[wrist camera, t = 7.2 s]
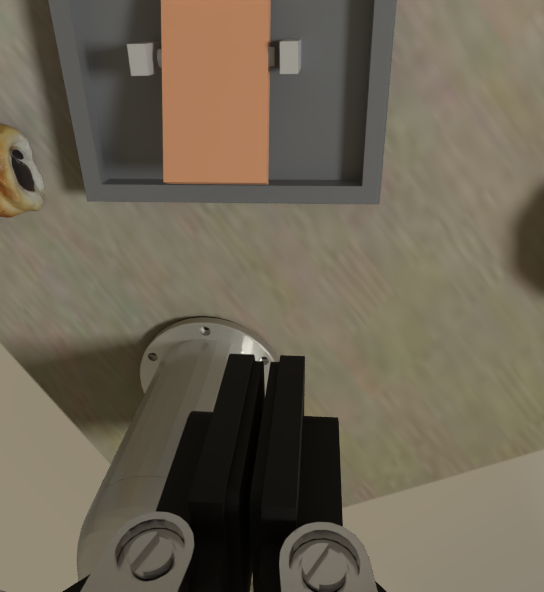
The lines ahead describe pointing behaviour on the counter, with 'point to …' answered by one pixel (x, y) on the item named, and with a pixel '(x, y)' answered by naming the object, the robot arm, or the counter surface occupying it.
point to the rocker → (215, 91)
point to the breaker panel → (282, 103)
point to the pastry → (18, 175)
